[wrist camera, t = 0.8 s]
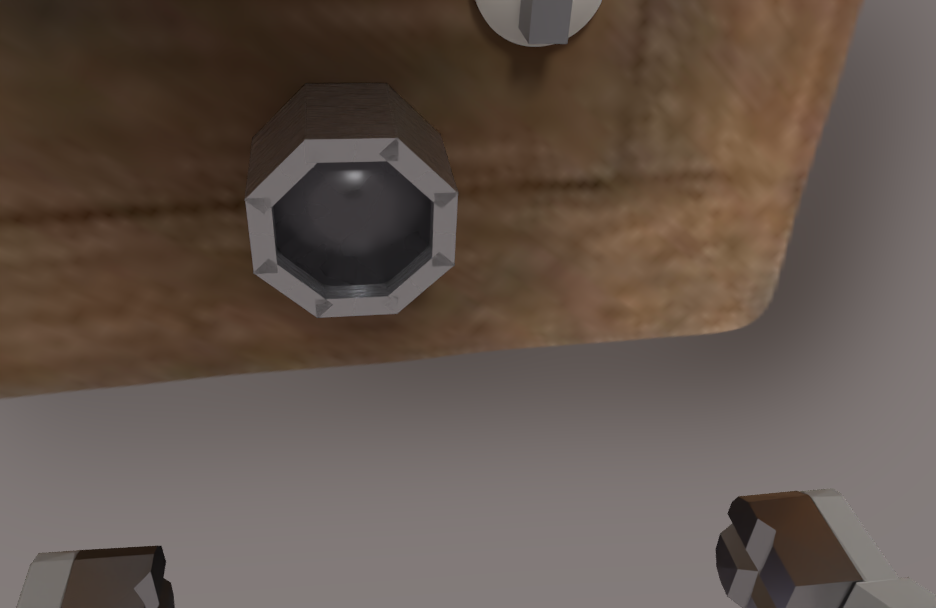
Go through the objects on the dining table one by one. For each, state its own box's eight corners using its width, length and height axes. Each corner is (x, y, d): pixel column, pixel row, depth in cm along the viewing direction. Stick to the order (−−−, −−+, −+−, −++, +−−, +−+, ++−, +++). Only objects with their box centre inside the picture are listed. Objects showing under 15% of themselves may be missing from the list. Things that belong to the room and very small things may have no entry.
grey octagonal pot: (246, 83, 44) (237, 140, 38) (442, 82, 45) (461, 136, 40) (264, 251, 50) (258, 321, 44) (436, 244, 51) (452, 311, 46)
